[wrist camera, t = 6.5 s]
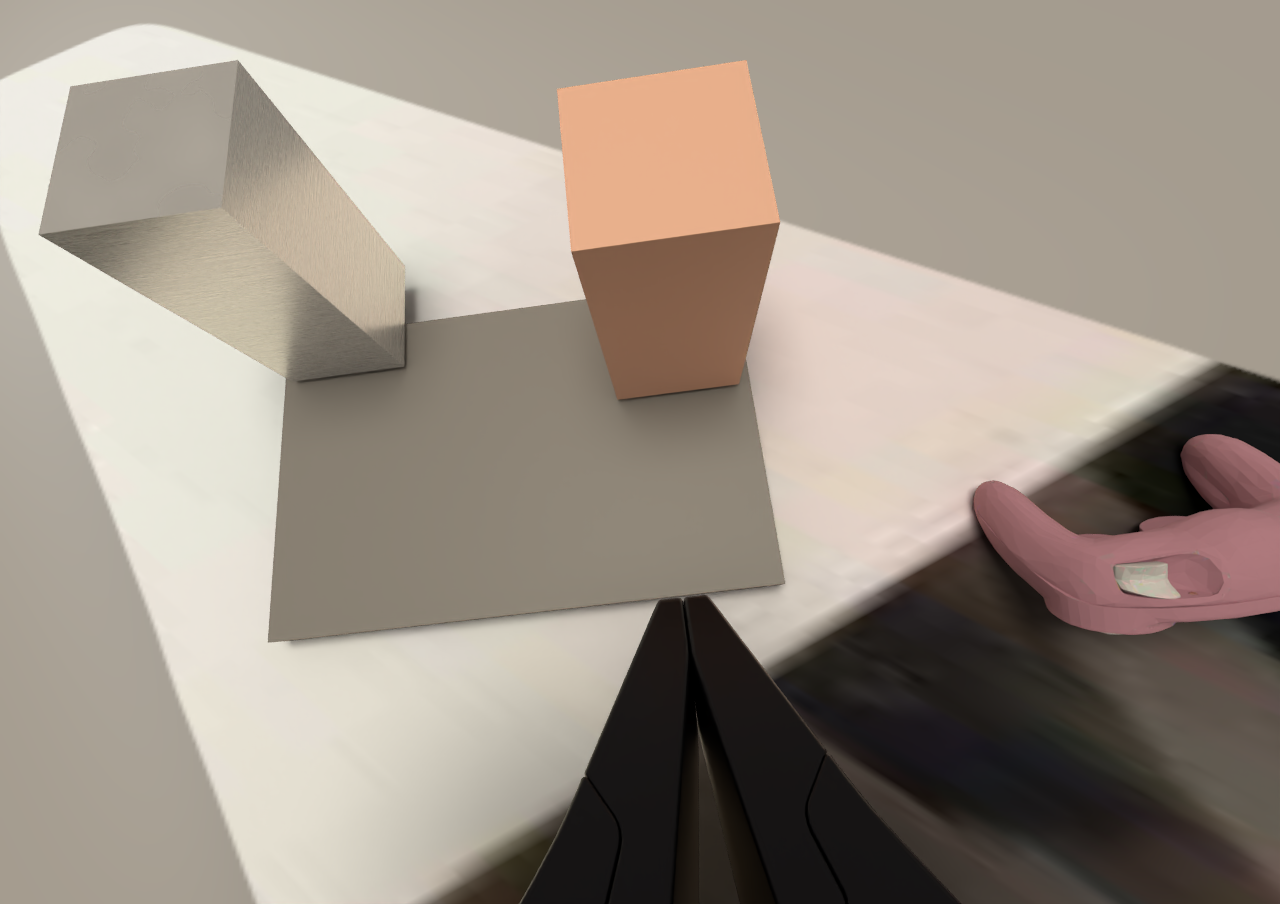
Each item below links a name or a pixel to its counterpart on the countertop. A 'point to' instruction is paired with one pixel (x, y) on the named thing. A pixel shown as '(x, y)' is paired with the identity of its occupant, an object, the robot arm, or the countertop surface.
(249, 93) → the brushed grey block
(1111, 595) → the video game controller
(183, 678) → the countertop surface
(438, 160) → the countertop surface
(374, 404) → the thin grey base plate
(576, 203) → the peach orange rectangular block
